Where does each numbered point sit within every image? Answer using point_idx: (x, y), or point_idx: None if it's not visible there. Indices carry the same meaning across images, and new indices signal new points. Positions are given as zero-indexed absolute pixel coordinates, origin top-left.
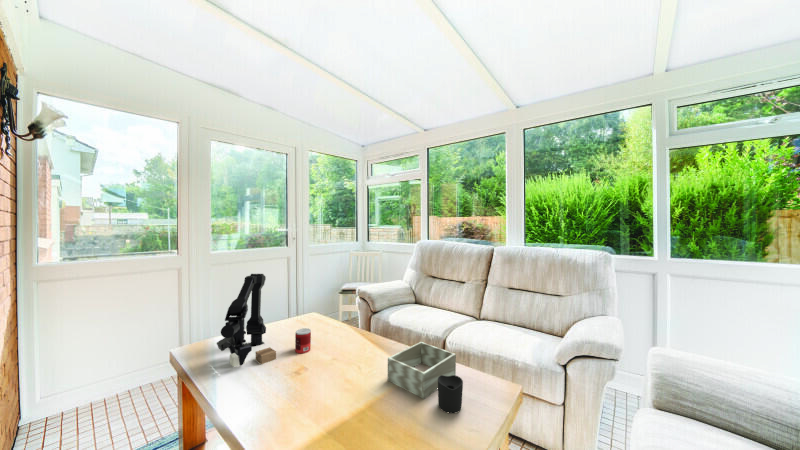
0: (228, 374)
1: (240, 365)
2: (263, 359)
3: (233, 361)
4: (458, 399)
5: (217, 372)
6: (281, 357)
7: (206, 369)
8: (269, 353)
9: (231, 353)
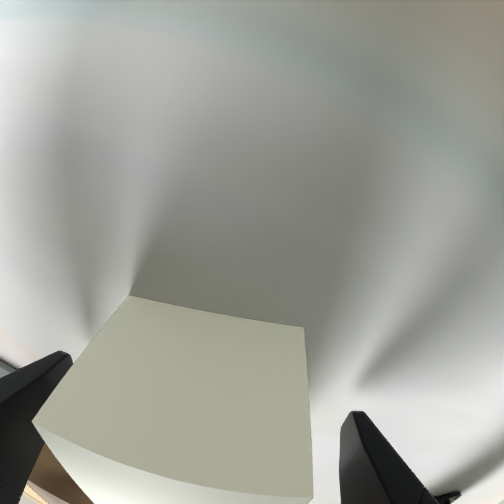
0: (14, 160)
1: (61, 353)
2: None
3: (88, 365)
4: None
5: (178, 55)
6: None
7: (457, 28)
8: (38, 494)
9: (385, 487)
